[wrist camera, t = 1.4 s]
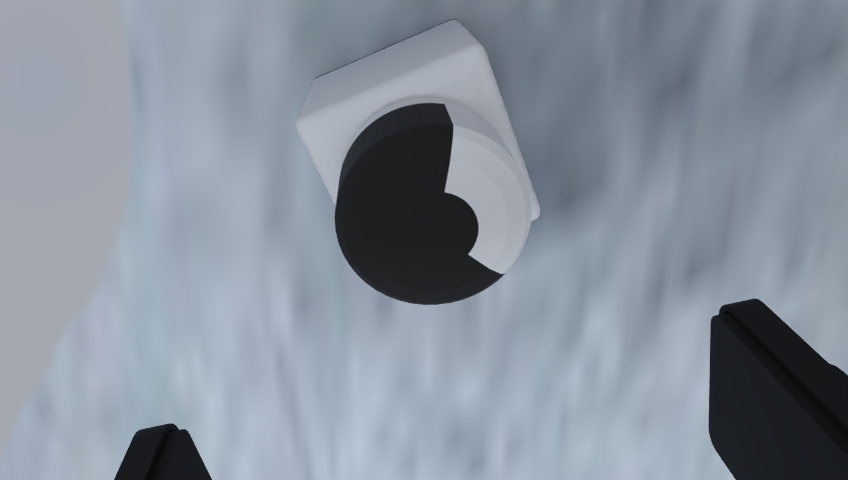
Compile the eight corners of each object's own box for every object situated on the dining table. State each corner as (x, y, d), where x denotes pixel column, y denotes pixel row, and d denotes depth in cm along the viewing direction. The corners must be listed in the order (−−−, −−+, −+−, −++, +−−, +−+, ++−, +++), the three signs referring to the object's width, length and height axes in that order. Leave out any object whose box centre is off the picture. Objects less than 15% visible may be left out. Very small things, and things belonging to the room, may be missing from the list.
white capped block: (373, 213, 31) (374, 362, 20) (309, 79, 28) (269, 171, 17) (508, 159, 30) (583, 283, 20) (457, 15, 27) (512, 69, 16)
